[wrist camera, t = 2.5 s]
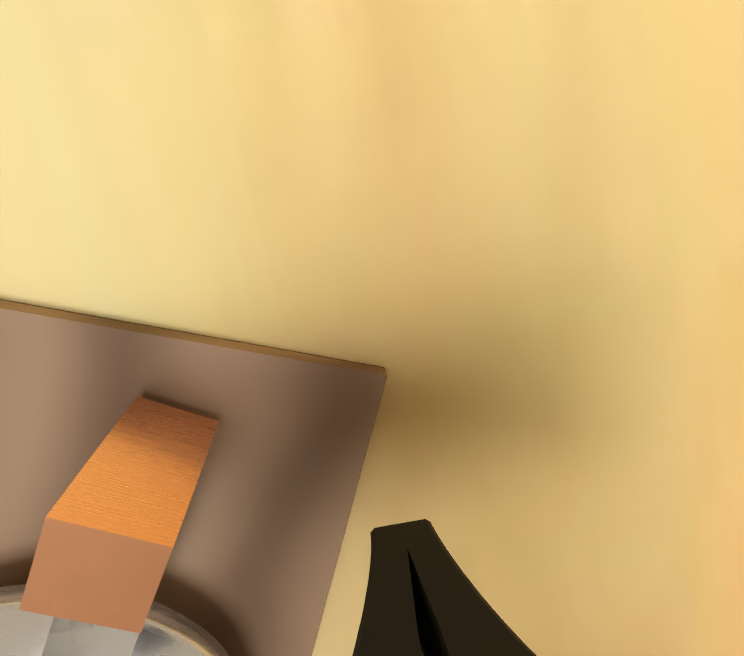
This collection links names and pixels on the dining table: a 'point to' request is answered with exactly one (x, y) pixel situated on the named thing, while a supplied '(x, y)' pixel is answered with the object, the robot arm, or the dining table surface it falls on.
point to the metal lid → (115, 547)
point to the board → (220, 470)
